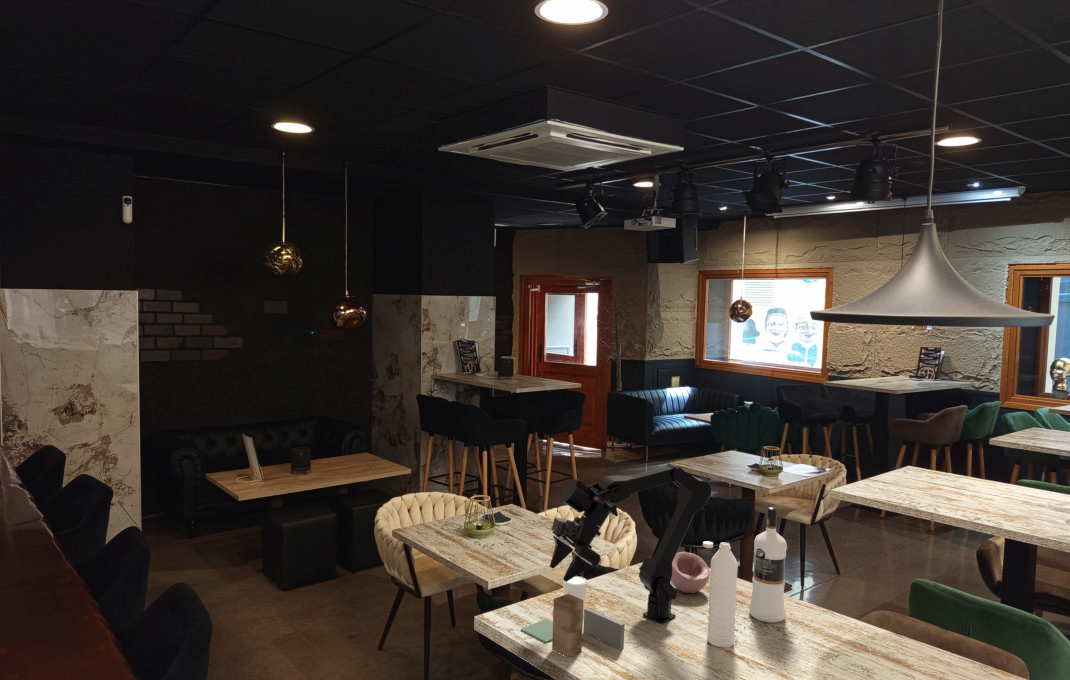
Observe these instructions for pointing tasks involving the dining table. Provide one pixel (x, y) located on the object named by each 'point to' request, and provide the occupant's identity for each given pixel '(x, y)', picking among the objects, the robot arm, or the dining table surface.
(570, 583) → the white short cylinder
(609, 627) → the gray rectangular block
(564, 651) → the letter block
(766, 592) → the vodka
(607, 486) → the robot arm
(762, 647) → the dining table surface
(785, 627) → the dining table surface
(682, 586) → the pink rounded bowl
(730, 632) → the water bottle
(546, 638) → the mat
